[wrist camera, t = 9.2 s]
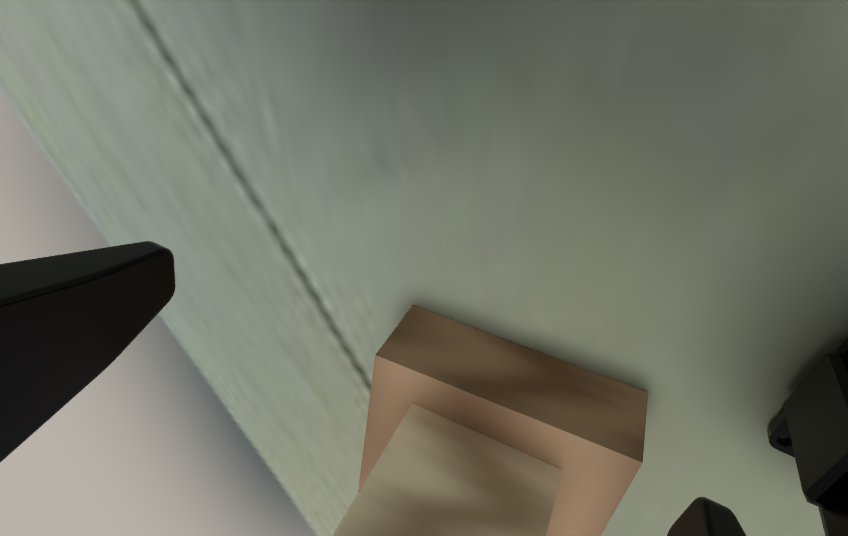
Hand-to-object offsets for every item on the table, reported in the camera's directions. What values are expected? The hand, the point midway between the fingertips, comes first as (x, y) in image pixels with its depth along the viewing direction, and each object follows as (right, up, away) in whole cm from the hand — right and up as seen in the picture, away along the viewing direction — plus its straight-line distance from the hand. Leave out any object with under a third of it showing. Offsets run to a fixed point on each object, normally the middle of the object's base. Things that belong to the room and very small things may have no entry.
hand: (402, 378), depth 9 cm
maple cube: (+2, -7, +14) cm, 15 cm away
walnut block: (+4, -5, +17) cm, 18 cm away
